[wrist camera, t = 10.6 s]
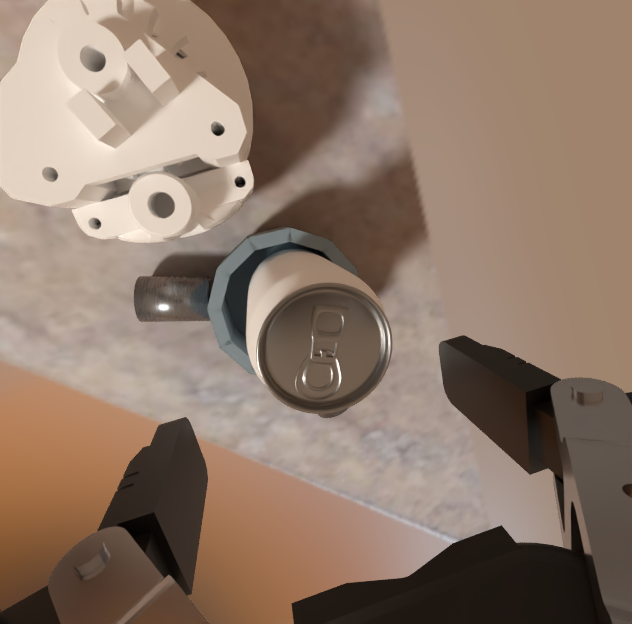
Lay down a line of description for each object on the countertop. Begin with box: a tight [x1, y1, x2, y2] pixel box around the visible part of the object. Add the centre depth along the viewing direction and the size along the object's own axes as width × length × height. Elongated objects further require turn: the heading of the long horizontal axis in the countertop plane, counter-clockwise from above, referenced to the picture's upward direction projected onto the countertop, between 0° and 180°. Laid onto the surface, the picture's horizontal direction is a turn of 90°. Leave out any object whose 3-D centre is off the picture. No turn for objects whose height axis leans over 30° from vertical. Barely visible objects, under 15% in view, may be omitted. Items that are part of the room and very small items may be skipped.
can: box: [246, 249, 392, 414], centre depth 20 cm, size 6×6×12 cm
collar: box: [207, 226, 359, 375], centre depth 25 cm, size 10×10×4 cm
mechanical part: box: [0, 0, 254, 243], centre depth 17 cm, size 11×12×12 cm
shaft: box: [134, 276, 212, 322], centre depth 24 cm, size 4×3×3 cm
